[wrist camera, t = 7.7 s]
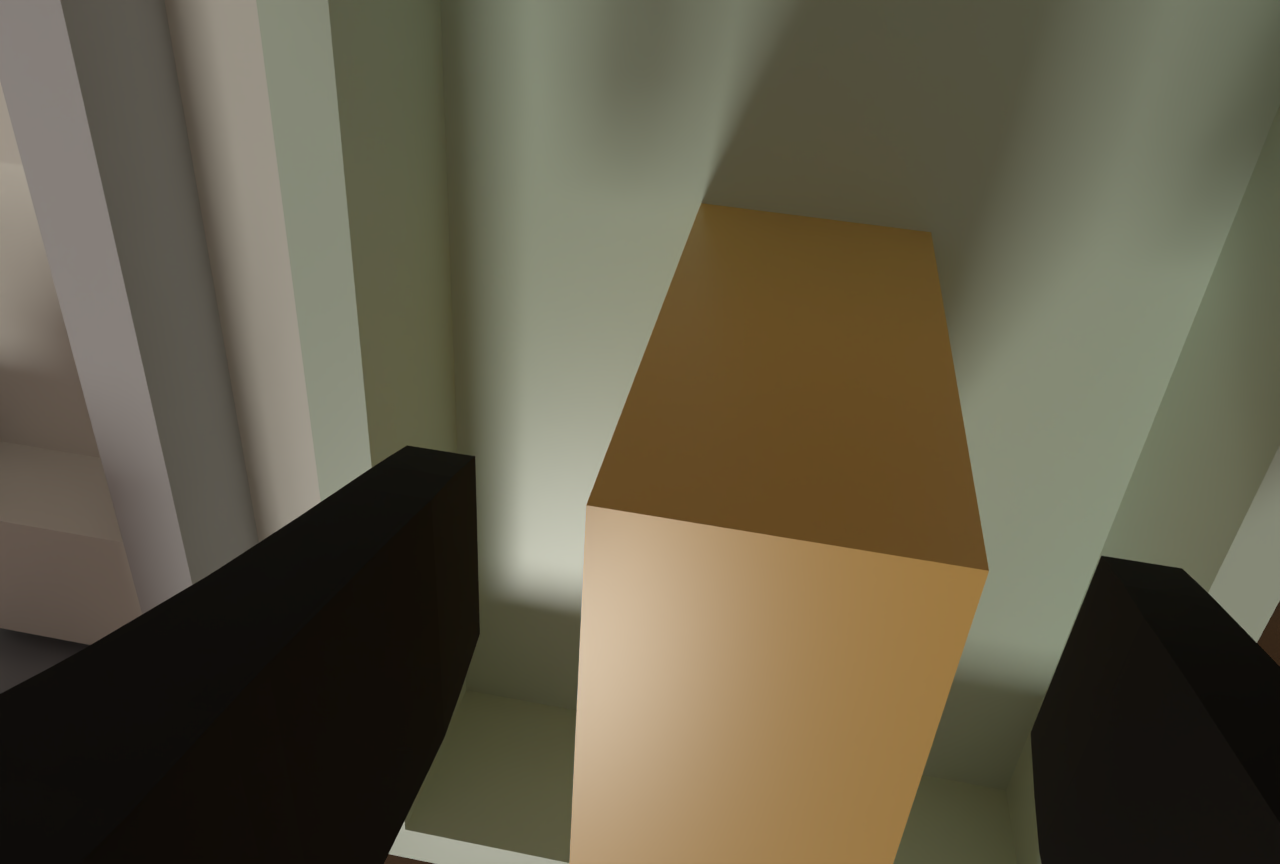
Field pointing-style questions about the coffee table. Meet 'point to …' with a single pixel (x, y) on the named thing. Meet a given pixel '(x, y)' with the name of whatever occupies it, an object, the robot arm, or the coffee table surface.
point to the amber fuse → (776, 555)
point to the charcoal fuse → (30, 655)
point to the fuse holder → (140, 310)
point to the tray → (814, 187)
